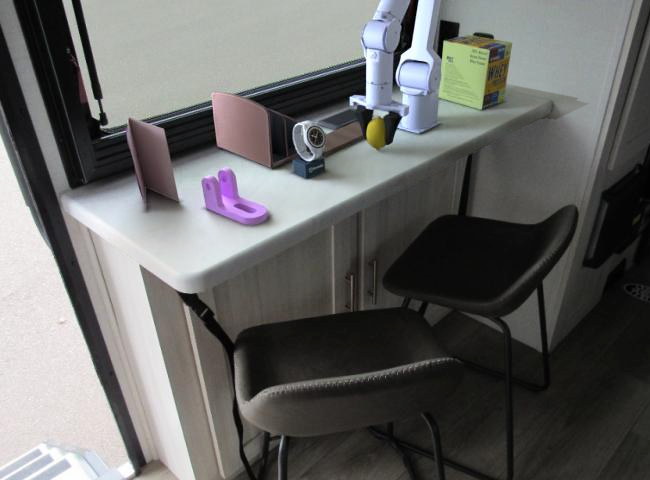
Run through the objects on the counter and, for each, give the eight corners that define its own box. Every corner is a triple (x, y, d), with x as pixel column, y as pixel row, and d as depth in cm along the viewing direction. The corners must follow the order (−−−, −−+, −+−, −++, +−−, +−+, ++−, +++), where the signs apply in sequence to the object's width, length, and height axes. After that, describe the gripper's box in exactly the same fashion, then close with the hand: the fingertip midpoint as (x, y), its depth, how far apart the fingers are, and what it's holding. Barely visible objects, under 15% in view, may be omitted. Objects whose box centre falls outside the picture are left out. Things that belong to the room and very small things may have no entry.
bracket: (206, 208, 112) (200, 175, 108) (226, 197, 116) (221, 165, 112) (252, 227, 106) (248, 193, 102) (273, 215, 109) (269, 182, 105)
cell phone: (372, 116, 152) (372, 113, 152) (336, 130, 144) (336, 127, 144) (351, 110, 156) (351, 107, 156) (316, 124, 148) (316, 121, 148)
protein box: (482, 110, 154) (490, 49, 145) (437, 98, 163) (442, 40, 154) (504, 101, 159) (513, 42, 150) (460, 90, 169) (466, 33, 159)
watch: (311, 181, 121) (309, 131, 114) (288, 170, 126) (284, 121, 119) (331, 173, 124) (330, 124, 117) (307, 163, 129) (305, 114, 122)
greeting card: (141, 187, 121) (123, 117, 112) (176, 182, 122) (162, 112, 113) (141, 211, 112) (122, 137, 103) (179, 205, 113) (164, 132, 104)
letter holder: (271, 169, 126) (265, 105, 118) (216, 147, 137) (207, 87, 129) (303, 155, 132) (299, 94, 124) (248, 135, 143) (241, 77, 135)
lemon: (388, 155, 131) (389, 121, 126) (364, 154, 132) (364, 120, 127) (391, 146, 135) (392, 112, 131) (368, 145, 136) (368, 111, 132)
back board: (356, 125, 147) (356, 121, 147) (378, 131, 143) (378, 127, 143) (302, 148, 136) (301, 144, 135) (325, 156, 132) (324, 152, 131)
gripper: (341, 80, 125) (342, 140, 133) (398, 91, 118) (396, 153, 126) (359, 72, 130) (359, 130, 138) (415, 82, 123) (411, 143, 131)
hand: (378, 141), depth 132 cm, fingers closed on lemon, 5 cm apart
